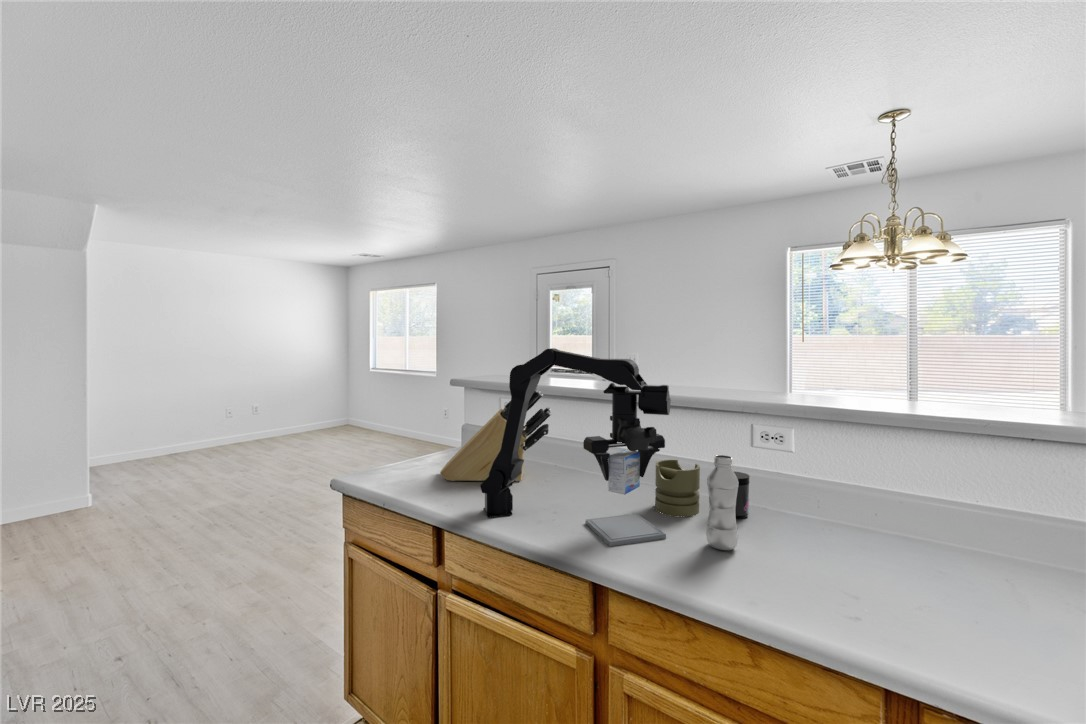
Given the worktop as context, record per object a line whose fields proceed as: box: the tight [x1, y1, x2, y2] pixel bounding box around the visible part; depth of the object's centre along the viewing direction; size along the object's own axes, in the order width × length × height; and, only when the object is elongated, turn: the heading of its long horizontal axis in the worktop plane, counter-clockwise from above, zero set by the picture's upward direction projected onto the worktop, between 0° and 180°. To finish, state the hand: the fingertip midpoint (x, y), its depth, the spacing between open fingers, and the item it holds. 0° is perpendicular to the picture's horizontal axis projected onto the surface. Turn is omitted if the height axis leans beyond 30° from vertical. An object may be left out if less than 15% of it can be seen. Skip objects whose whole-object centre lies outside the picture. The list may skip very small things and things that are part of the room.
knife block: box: [439, 387, 552, 482], centre depth 163 cm, size 11×35×31 cm, turn 89°
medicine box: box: [607, 449, 641, 496], centre depth 118 cm, size 8×4×9 cm, turn 143°
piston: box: [654, 459, 701, 518], centre depth 133 cm, size 11×12×11 cm
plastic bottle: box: [705, 454, 739, 551], centre depth 109 cm, size 6×7×20 cm
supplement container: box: [732, 470, 751, 520], centre depth 129 cm, size 7×7×10 cm
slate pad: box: [585, 513, 667, 547], centre depth 119 cm, size 14×14×1 cm
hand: (624, 478), depth 118 cm, fingers closed on medicine box, 9 cm apart
